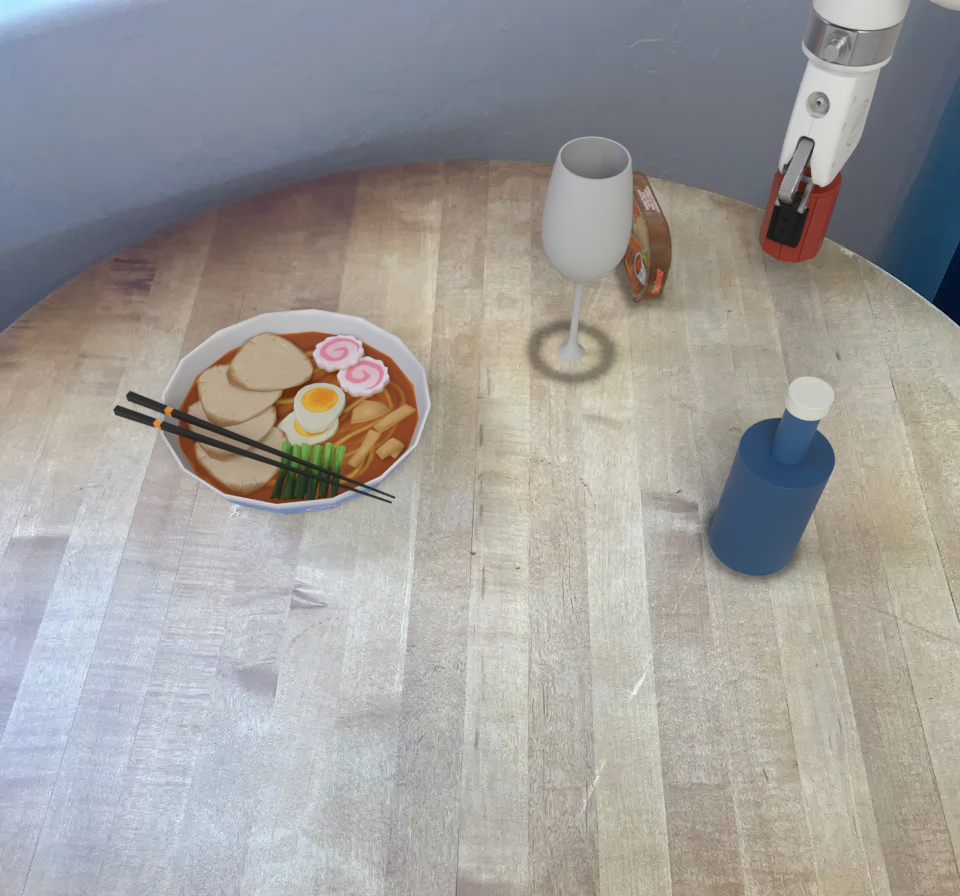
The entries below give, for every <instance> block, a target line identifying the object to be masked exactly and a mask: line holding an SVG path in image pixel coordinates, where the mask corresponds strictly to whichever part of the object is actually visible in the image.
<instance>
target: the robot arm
mask: <svg viewBox="0 0 960 896" xmlns="http://www.w3.org/2000/svg"><path fill="white" fill-rule="evenodd" d="M928 1H930V2H932V3H933V4H935V5H937V6H940V7H941V8H945V9H948V10H953V11H959V12H960V0H928ZM910 3H911V0H812V2H811V4H810V5H811V6H810V9H809V13H808V16H807V21H806V25H805V28H804V33H803V37H802V41H801V50H802V52H803V54H804V55H805V57H806V58H807V59H808V60H807V64H806V67H805V69H804V72H803V76H802V79H801V81H800V83H799V89H798V92H797V95H796V99H795V102H794V104H793V108H792V111H791V115H790V118H789V122H788V125H787V129H786V133H785V136H784V140H783V144H782V148H781V152H780V156H779V162H778V167H779V171H780V173H781V174H784V173H785V172H786V173H785V176H784V179H783V182H782V184H781V186H780V189H779V192H778V195H777V198H776V201H775V204H774V208H773V212H772V215H771V219H770V223H769V227H768V230H767V234H766V237H767V239H769V240H772V241H775V242H777V243H780V244H783V245H786V246H789V247H792V248H796V247H797V246H798V244H799V242H800V239H801V236H802V232H803V229H804V226H805V222H806V219H807V216H808V213H809V209H808V208H806V207H807V205H808V202H809V199H810V197H811V194H812V192H813V189H814V186H815V184H817V185H820V187H825V186H827V185H828V184H830V183H831V182H832V181H833V179H834V178H835V177H836V175H837V174H838V172H839V171H840V172H841V170H842V168H843V167H844V165H845V164H846V163H847V161H848V160H849V158H850V157H851V155H852V154H853V152H854V151H855V149H856V148H857V146H858V144H859V143H860V140H861V138H862V135H863V132H864V129H865V126H866V121H867V119H868V115H869V111H870V109H871V104H872V101H873V97H874V93H875V90H876V87H877V84H878V81H879V76H880V73H881V69H882V68H884V67H885V66H886V65H887V64H889V62H890V61H891V60H892V57H893V54H894V51H895V48H896V45H897V42H898V39H899V36H900V33H901V30H902V27H903V24H904V21H905V19H906V14H907V12H908V9H909V6H910ZM806 167H809V168H811V175H809V174H806V173H804V171H805V169H806ZM800 181H801V182H804V183H807V185H806V188H805V191H804V193H803V196H802V195H801V192H798V185H799V182H800Z"/></svg>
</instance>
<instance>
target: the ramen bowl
mask: <svg viewBox="0 0 960 896" xmlns="http://www.w3.org/2000/svg"><path fill="white" fill-rule="evenodd" d="M125 398H126V400H127V402H130V403H132V404H134V405H138V406H140V407H143V408H147V409H148V410H151V411H154V412H157V413H160V419H158V418H156V417H153V416H150V415H148V414H145V413H142V412H139V411H137V410H133V409H131V408H127V407H125V406H121V405H120V404H116V406H115V407H114V408H113V409H112V411H113V414H114V416H118V417H120V418H123V419H126V420H130V421H133V422H136V423H139V424H141V425H144V426H148V427H152V428H153V429H159V431H160V432H159V434H160V436H161V438H162V440H163V442H164V443H165V445H166V446H167V448H168V449H169V451H170V453H171V455H172V457H173V458H174V460H175V462H176V463H177V465H178V466H179V468H180V470H181V471H182V472H184V473H185V474H186V475H188V476H190V477H191V478H193V479H195V481H197V482H199V483H200V484H202V485H203V486H205V487H206V488H208V489H209V490H211V491H212V492H214V493H216V494H217V495H219V496H220V497H221V498H223V499H225V500H226V501H228V502H229V503H232V504H234V505H237V506H239V507H240V506H241V507H246V508H251V509H255V510H260V511H266V512H271V513H276V514H280V515H294V514H303V513H312V512H322V511H330V510H334V509H336V508H338V507H340V506H343V505H345V504H347V503H349V502H352V501H353V500H356V499H357V498H360V497H362V496H366V497H370V498H371V499H375V500H379V501H382V502H384V503H388V504H392V503H393V501H391V500H389V499H385V498H383V497H380V496H378V495H374V494H372V493H371V492H375V493H377V494H380V495H383V496H386V497H389V498H391V499H394V500H395V499H396V496H395V495H392V494H390V493H387V492H384V491H382V490H379V489H377V488H378V487H379V486H380V485H381V484H382V483H383V482H384V481H385V480H386V479H387V478H388V477H389V476H390V475H391V474H392V473H394V471H396V469H398V468H399V466H401V464H403V463H404V462H405V461H406V460H407V459H408V458H409V457H410V456H411V455H412V453H413V452H414V451H415V449H416V447H418V444H419V442H420V439H421V436H422V433H423V430H424V427H425V424H426V422H427V419H428V416H429V413H430V410H431V408H432V403H431V397H430V391H429V386H428V379H427V372H426V368H425V367H424V365H423V364H422V363H421V362H420V360H418V359H417V357H416V356H415V355H414V353H413V352H412V351H411V350H410V349H409V348H408V346H407V345H406V343H404V341H403V340H402V339H401V338H400V337H399V336H398V335H395V334H393V333H391V332H390V331H388V330H387V329H384V328H382V327H380V326H379V325H377V324H375V323H373V322H371V321H369V320H367V319H366V318H364V317H361V316H358V315H352V314H347V313H341V312H335V311H329V310H322V309H317V308H307V309H296V310H294V309H293V310H284V311H274V312H273V311H272V312H263V313H260V314H258V315H255V316H252V317H250V318H248V319H244V320H242V321H240V322H237V323H235V324H234V323H233V324H232V325H229V326H227V327H224V328H221V329H219V330H217V331H215V332H214V333H213V334H212V335H210V337H207V338H206V339H205V340H204V341H203V342H202V343H200V344H198V346H196V347H195V348H194V349H192V350H191V351H190V352H189V353H187V354H186V355H184V356H183V357H182V358H181V359H180V361H179V363H178V364H177V366H176V368H175V370H174V371H173V373H172V375H171V377H170V379H169V381H168V382H167V384H166V386H165V388H164V389H163V392H162V394H161V395H160V401H157V400H154V399H152V398H149V397H147V396H144V395H142V394H139V393H137V392H134V391H132V390H129V391H128V392H127V393H126V394H125Z"/></svg>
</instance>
